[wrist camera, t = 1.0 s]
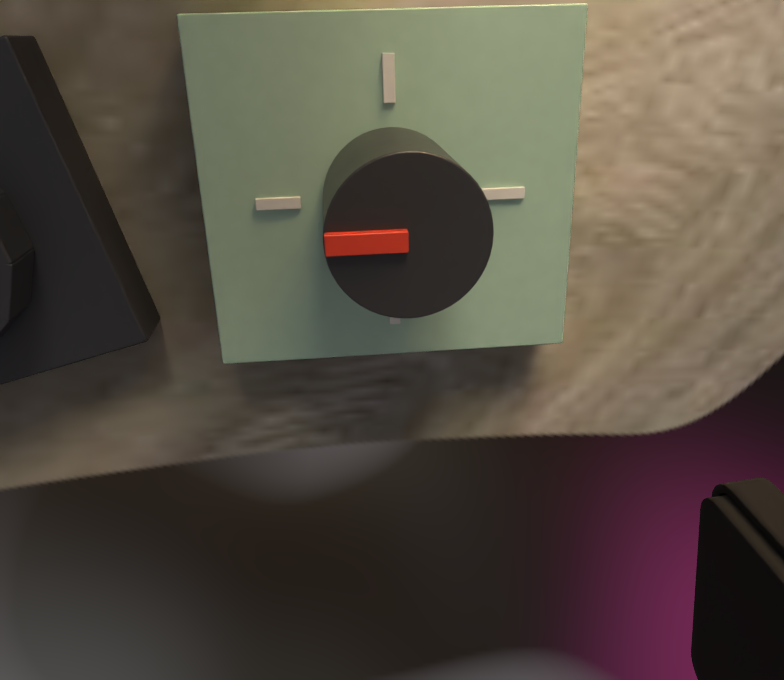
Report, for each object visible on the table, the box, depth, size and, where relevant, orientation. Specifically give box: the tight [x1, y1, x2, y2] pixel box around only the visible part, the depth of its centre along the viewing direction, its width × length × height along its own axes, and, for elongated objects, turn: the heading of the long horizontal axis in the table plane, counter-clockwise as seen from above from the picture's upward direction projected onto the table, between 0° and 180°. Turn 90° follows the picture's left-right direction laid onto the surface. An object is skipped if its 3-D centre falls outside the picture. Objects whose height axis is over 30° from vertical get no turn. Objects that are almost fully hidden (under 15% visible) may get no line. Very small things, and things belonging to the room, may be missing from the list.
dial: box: [323, 127, 494, 318], centre depth 20 cm, size 4×4×5 cm
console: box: [177, 3, 588, 364], centre depth 24 cm, size 12×11×3 cm
